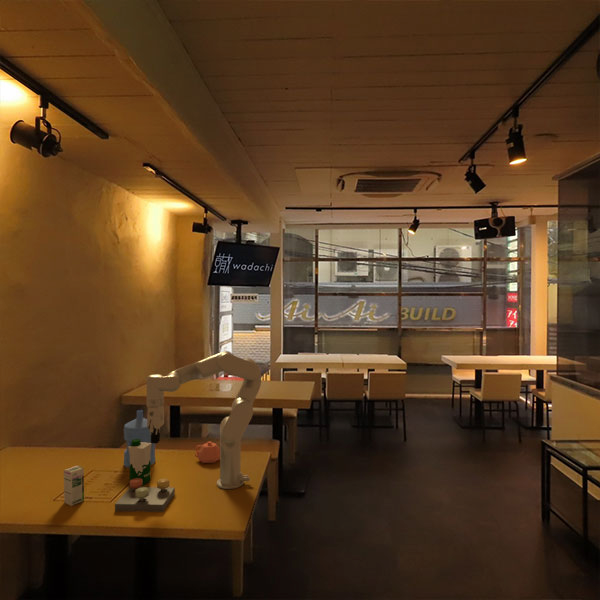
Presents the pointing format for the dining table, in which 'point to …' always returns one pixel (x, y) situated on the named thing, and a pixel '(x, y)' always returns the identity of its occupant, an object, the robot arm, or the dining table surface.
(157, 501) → the plate
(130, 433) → the water jug
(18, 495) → the dining table surface
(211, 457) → the sugar bowl
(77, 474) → the syrup box
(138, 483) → the red rounded lump
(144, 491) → the pale green ball
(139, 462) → the milk carton
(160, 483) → the tan rounded piece
